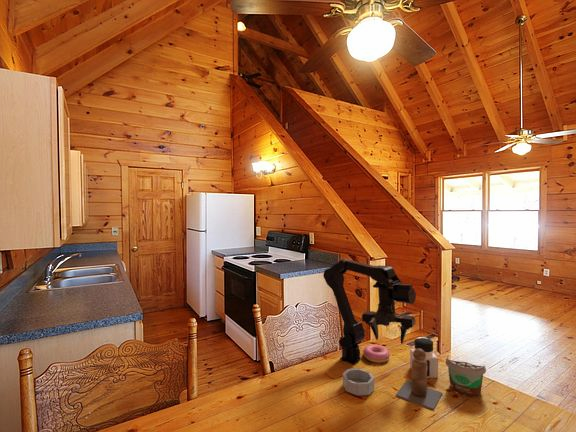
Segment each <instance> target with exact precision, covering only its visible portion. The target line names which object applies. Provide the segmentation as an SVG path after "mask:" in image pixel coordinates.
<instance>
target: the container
mask: <svg viewBox="0 0 576 432" xmlns="http://www.w3.org/2000/svg"><path fill="white" fill-rule="evenodd" d="M417 348H420V349H422V350H424V352H425V353H426V358H425V360H426V361H427V379H430V378H431V379H437V378H439V358H438V356H437V355H436V354H435V353H434V342H433V340H431V339H430V338H428V337H424V336H422V337H421V336H419V337H415V339H414V348H410V350H409V356H410V357H409V367H410V370H412V359H413V358H414V356H413V352H414V350H415V349H417Z"/></svg>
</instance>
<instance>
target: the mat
mask: <svg viewBox="0 0 576 432" xmlns="http://www.w3.org/2000/svg"><path fill="white" fill-rule="evenodd" d="M395 396H396V397H398V398H401V399H402V400H406V401H408V402H411V403H413V404H416V405H418V406H421V407H423V408H427V409H429V410H431V411H435V410H436V409H435V408H436V407H437V405H438V403H439V401H440V399H441V398H442V396H443V392H442V391H439V390H436V389H434V388H430V387H427V396H426V397H423V398H421V397H417V396H414V395H413V394H412V393H411V380H410V381H409V380H405V382H404V383H403V384H402V386H401V387H400V388H399V390H398V391H397V392H396V393H395Z"/></svg>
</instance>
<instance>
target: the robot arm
mask: <svg viewBox="0 0 576 432" xmlns="http://www.w3.org/2000/svg"><path fill="white" fill-rule="evenodd" d="M348 271H350V272H354V273H358V274H361V275H364V276H368V278H369V277H370V279H372V280H373V281H375V283H374V284H373V285H372V287H373V288H376V289H377V291H378V304H377V310H376V311H373V310H371V311H370V310H366V311H364V313H362V315H361V321H362V322H365V324H366V325H368V326H369V327H370V328H371V331H372V333H373V335H374V337H375V340H376V341H379V326H384V327H388V326H389V325H390V324H391V323H399V324H400V327H399V329H400V344H401V345H403V343H404V342H405V341H404V340H405V337H406V334H407V332H408V330H410V329H412V328H414V326H415V325H416V318H415V316H414V315H408V314H403V315H402V316H401V317H400V316H399V317H398V316H397V312H396V303H401V304H410V305H414V303H415V302H416V297H417V293H416V290H415V289H414V288H413V284H411V283H408V284H407V283H406V284H405V283H403V282H402V281H401V279H400V278H399V277H398V274H396V271H395V269H394V268H393V267H392V266H391V265H390V266H389V265H371V264H368V263H364V262H359V261H355V260H352V259H350V258H344V259H343V258H342V259H340V260H339V261H338V262H337V263H335V264H334V265H332V266H331V267H329V268H326V269H325V270H324V272H323V273H322V274H323V279H324V281H325V282H326V285H327V286H328V287H329V288H330V289H331V290H332V292H333V295H334V298H335V302H336V304H337V307H338V310H339V313H340V316H341V319H342V322H343V327H342V333H343V336H342V338H340V339H339V340H338V343H339V347H341V357H340V360H341V361H344V362H345V363H349V364H352V365H354V364H356V363H357V362H358V361H360V360H361V358H362V357H361V349H360V345H359V344H361V343H362V341H364V339H365V336H366V335H365V333H366V330H365V328H364V326H363V323H362V322H361V321H360V322H358V321H357V319H356V318H355V315H354V312H353V309H352V307H351V304H350V301H349V299H348V296H347V293H346V290H345V287H344V284H345V278H344V274H346V272H348Z"/></svg>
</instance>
